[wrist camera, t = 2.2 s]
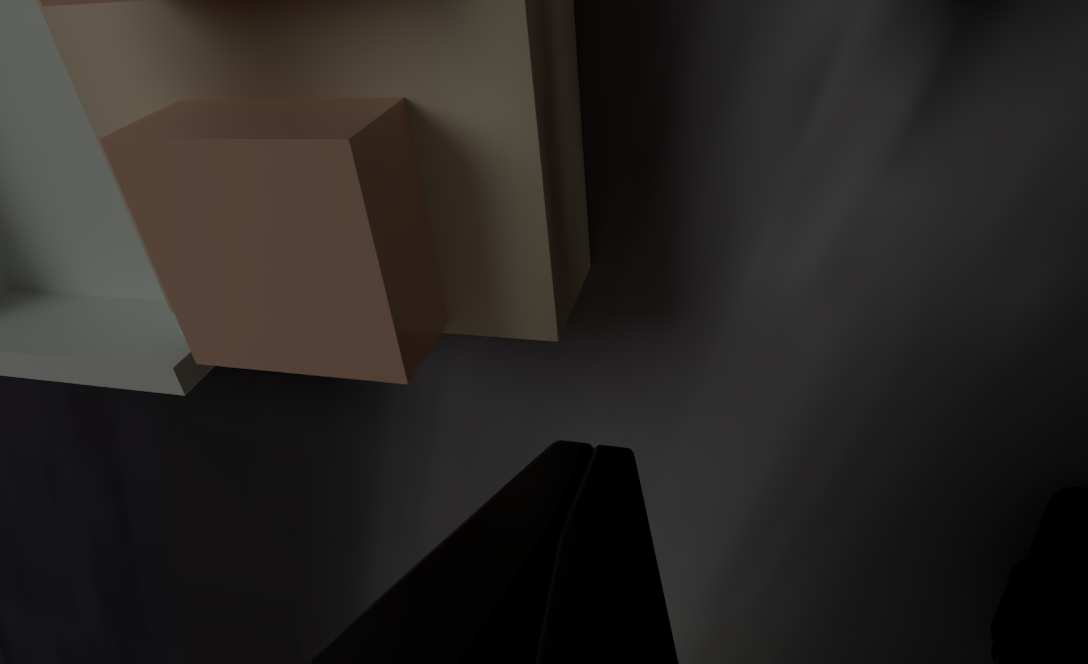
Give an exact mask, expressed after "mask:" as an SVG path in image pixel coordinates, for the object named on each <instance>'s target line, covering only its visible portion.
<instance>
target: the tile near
mask: <svg viewBox="0 0 1088 664" xmlns="http://www.w3.org/2000/svg"><path fill="white" fill-rule="evenodd" d="M127 1H145V0H40V2H41V4H42V6H57V5H75V4H92V3H110V2H127Z"/></svg>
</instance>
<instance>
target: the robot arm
mask: <svg viewBox="0 0 1088 664" xmlns="http://www.w3.org/2000/svg"><path fill="white" fill-rule="evenodd" d="M1082 508H1085V509H1083V510H1080V511H1072V510H1075V509H1082ZM991 634H992V638H993V645H992V647H991V653H992V657H993V661H994V664H1088V488H1085V487H1071V488H1067V489H1063V490H1060V491H1059V492H1057V493H1055V494H1054V495H1053V496H1052V498H1051V499H1050V500H1049V503H1048V505H1047V508H1046V510H1045V513H1044V515H1043V518H1042V520H1041V523H1040V526H1039V528H1038V531H1037V533H1036V536H1035V538H1034V541H1033V543H1032V546H1031V548H1030V551H1029V553H1028V556H1027V559H1022V560H1021V561H1020V562H1019V563H1017V564H1016V565H1015V566H1014V567H1013V569H1012V572H1011V575H1010V577H1009V580H1008V583H1007V585H1006V588H1005V590H1004V593H1003V596H1002V598H1001V601H1000V603H999V606H998V609H997V611H996V614H995V616H994V619H993V622H992V624H991ZM305 664H310V663H305ZM312 664H678V659H677V654H676V649H675V645H674V640H673V635H672V631H671V626H670V621H669V616H668V612H667V607H666V602H665V597H664V593H663V588H662V583H661V579H660V574H659V569H658V564H657V560H656V555H655V550H654V545H653V541H652V536H651V531H650V527H649V522H648V517H647V512H646V508H645V503H644V498H643V493H642V489H641V484H640V479H639V474H638V470H637V465H636V460H635V456H634V453H633V451H632V450H631V449H629V448H623V447H615V446H606V445H598V446H596V447H595V448H593V447H592V446H591V445H590V444H588V443H580V442H571V441H563V440H560V441H556V442H554V443H552V444H551V445H550V446H549V447H548V448H546V449H545V450H544V451H543V452H542V453H541V454H540V455H539V456H537V457H536V458H535V459H534V460H533V461H532V462H531V463H530V464H528V465H527V466H526V467H525V468H524V469H523V470H522V471H521V472H519V473H518V474H517V475H516V476H515V477H514V478H513V479H512V480H511V481H509V482H508V483H507V484H506V485H505V486H504V487H503V488H502V489H500V490H499V491H498V492H497V493H496V494H495V495H494V496H493V497H491V498H490V499H489V500H488V501H487V502H486V503H485V504H484V505H482V506H481V507H480V508H479V509H478V510H477V511H476V512H475V513H474V514H472V515H471V516H470V517H469V518H468V519H467V520H466V521H465V522H463V523H462V524H461V525H460V526H459V527H458V528H457V529H456V530H454V531H453V532H452V533H451V534H450V535H449V536H448V537H447V538H445V539H444V540H443V541H442V542H441V543H440V544H439V545H438V546H436V547H435V548H434V549H433V550H432V551H431V552H430V553H429V554H428V555H426V556H425V557H424V558H423V559H422V560H421V561H420V562H419V563H417V564H416V565H415V566H414V567H413V568H412V569H411V570H410V571H408V572H407V573H406V574H405V575H404V576H403V577H402V578H401V579H399V580H398V581H397V582H396V583H395V584H394V585H393V586H392V587H391V588H389V589H388V590H387V591H386V592H385V593H384V594H383V595H382V596H380V597H379V598H378V599H377V600H376V601H375V602H374V603H373V604H371V605H370V606H369V607H368V608H367V609H366V610H365V611H364V612H362V613H361V614H360V615H359V616H358V617H357V618H356V619H355V620H354V621H352V622H351V623H350V624H349V625H348V626H347V627H346V628H345V629H343V630H342V631H341V632H340V633H339V634H338V635H337V636H336V637H334V638H333V639H332V640H331V641H330V642H329V643H328V644H327V645H325V646H324V647H323V648H322V649H321V650H320V651H319V652H318V653H317V654H315V655H314V656H313V658H312Z"/></svg>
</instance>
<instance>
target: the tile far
mask: <svg viewBox="0 0 1088 664" xmlns="http://www.w3.org/2000/svg"><path fill="white" fill-rule="evenodd" d="M100 141H101V144H102V146H103V148H104V151H105V153H106V155H107V158H108V160H109V162H110V165H111V167H112V169H113V172H114V174H115V176H116V179H117V181H118V183H119V186H120V188H121V190H122V193H123V195H124V197H125V200H126V202H127V204H128V207H129V209H130V211H131V214H132V216H133V218H134V221H135V223H136V225H137V228H138V230H139V232H140V235H141V237H142V239H143V241H144V244H145V246H146V248H147V251H148V253H149V255H150V258H151V260H152V262H153V265H154V267H155V269H156V272H157V274H158V276H159V279H160V281H161V283H162V286H163V288H164V290H165V293H166V295H167V297H168V300H169V302H170V304H171V307H172V309H173V311H174V314H175V316H176V318H177V321H178V323H179V325H180V328H181V330H182V332H183V335H184V337H185V339H186V342H187V344H188V346H189V349H190V351H191V353H192V356H193V358H194V360H195V363H196V364H202V365H212V366H223V367H233V368H244V369H254V370H264V371H275V372H285V373H296V374H306V375H316V376H327V377H337V378H348V379H358V380H368V381H379V382H389V383H400V384H408V383H409V382H410V380H411V379H412V377H413V376H414V374H415V373H416V371H417V370H418V368H419V367H420V365H421V364H422V362H423V361H424V359H425V358H426V356H427V355H428V353H429V352H430V350H431V349H432V347H433V346H434V344H435V342H436V341H437V339H438V338H439V336H440V335H441V333H442V332H443V330H444V329H445V327H446V326H447V324H448V320H447V314H446V309H445V304H444V299H443V294H442V289H441V283H440V278H439V273H438V268H437V263H436V258H435V252H434V247H433V242H432V237H431V232H430V227H429V221H428V216H427V211H426V206H425V201H424V196H423V190H422V185H421V180H420V175H419V170H418V165H417V159H416V154H415V149H414V144H413V139H412V134H411V128H410V123H409V118H408V113H407V108H406V103H405V98H404V97H375V98H305V99H236V100H179V101H177V102H175V103H172V104H170V105H168V106H166V107H164V108H162V109H160V110H158V111H156V112H154V113H152V114H150V115H148V116H146V117H144V118H141V119H139V120H137V121H135V122H133V123H131V124H129V125H127V126H125V127H123V128H121V129H119V130H117V131H115V132H113V133H110V134H108V135H106V136H104V137H102V138H100Z"/></svg>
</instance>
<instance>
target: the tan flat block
mask: <svg viewBox="0 0 1088 664" xmlns="http://www.w3.org/2000/svg"><path fill="white" fill-rule="evenodd" d="M37 2H38V5H39V7H40V9H41V12H42V14H43V16H44V19H45V21H46V23H47V26H48V28H49V30H50V33H51V35H52V37H53V39H54V42H55V44H56V46H57V49H58V51H59V53H60V56H61V58H62V60H63V63H64V65H65V67H66V70H67V72H68V74H69V77H70V79H71V81H72V83H73V86H74V88H75V90H76V93H77V95H78V97H79V100H80V102H81V104H82V107H83V109H84V111H85V114H86V116H87V118H88V121H89V123H90V125H91V127H92V130H93V132H94V134H95V137H96V139H97V141H98V144H99V146H100V148H101V151H102V153H103V155H104V158H105V160H106V162H107V164H108V167H109V169H110V171H111V174H112V176H113V178H114V181H115V183H116V185H117V188H118V190H119V192H120V195H121V197H122V199H123V202H124V204H125V206H126V208H127V211H128V213H129V215H130V218H131V220H132V222H133V225H134V227H135V229H136V232H137V234H138V236H139V239H140V241H141V243H142V246H143V248H144V250H145V252H146V255H147V257H148V259H149V262H150V264H151V266H152V269H153V271H154V273H155V276H156V278H157V280H158V283H159V285H160V287H161V290H162V292H163V294H164V296H165V299H166V301H167V303H168V306H169V308H170V310H171V313H174V311H173V309H172V307H171V304H170V302H169V300H168V297H167V295H166V293H165V290H164V288H163V286H162V283H161V281H160V279H159V276H158V274H157V272H156V269H155V267H154V265H153V262H152V260H151V258H150V255H149V253H148V251H147V248H146V246H145V244H144V241H143V239H142V237H141V235H140V232H139V230H138V228H137V225H136V223H135V221H134V218H133V216H132V214H131V211H130V209H129V207H128V204H127V202H126V200H125V197H124V195H123V193H122V190H121V188H120V186H119V183H118V181H117V179H116V176H115V174H114V172H113V169H112V167H111V165H110V162H109V160H108V158H107V155H106V153H105V151H104V148H103V146H102V144H101V141H100V138H102V137H104V136H106V135H108V134H110V133H113V132H115V131H117V130H119V129H121V128H123V127H125V126H127V125H129V124H131V123H133V122H135V121H137V120H139V119H141V118H144V117H146V116H148V115H150V114H152V113H154V112H156V111H158V110H160V109H162V108H164V107H166V106H168V105H170V104H172V103H175V102H177V101H179V100H236V99H305V98H375V97H404V98H405V103H406V108H407V113H408V118H409V123H410V128H411V134H412V139H413V144H414V149H415V154H416V159H417V165H418V170H419V175H420V180H421V185H422V190H423V196H424V201H425V206H426V211H427V216H428V221H429V227H430V232H431V237H432V242H433V247H434V252H435V258H436V263H437V268H438V273H439V278H440V283H441V289H442V294H443V299H444V304H445V309H446V314H447V320H448V324H447V326H446V327H445V329H444V330H443V332H442V333H449V334H463V335H476V336H489V337H502V338H516V339H529V340H542V341H555V342H558V341H559V339H560V337H561V334H562V332H563V330H564V327H565V325H566V323H567V321H568V318H569V316H570V314H571V311H572V309H573V307H574V304H575V302H576V300H577V297H578V295H579V293H580V290H581V288H582V286H583V283H584V281H585V279H586V276H587V274H588V272H589V269H590V267H591V262H590V247H589V231H588V216H587V201H586V186H585V170H584V155H583V140H582V125H581V109H580V94H579V79H578V64H577V48H576V33H575V18H574V3H573V0H145V1H127V2H110V3H92V4H75V5H57V6H42V4H41V2H40V0H37Z"/></svg>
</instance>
